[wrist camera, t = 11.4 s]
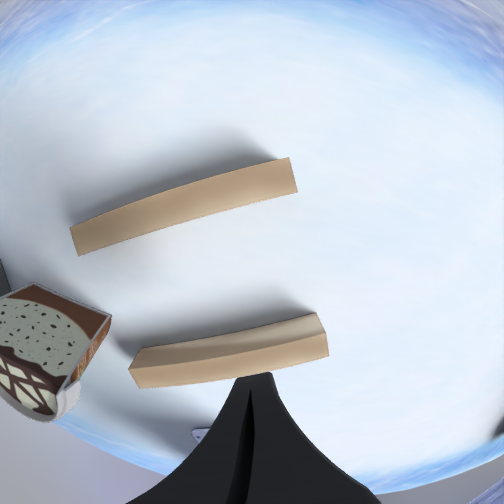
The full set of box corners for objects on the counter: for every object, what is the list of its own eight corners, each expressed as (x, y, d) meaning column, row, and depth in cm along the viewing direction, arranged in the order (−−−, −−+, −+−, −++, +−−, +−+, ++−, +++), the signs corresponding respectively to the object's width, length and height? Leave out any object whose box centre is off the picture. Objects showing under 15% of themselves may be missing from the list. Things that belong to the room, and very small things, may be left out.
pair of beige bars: (320, 334, 20) (329, 356, 17) (150, 367, 21) (139, 388, 18) (282, 161, 17) (288, 157, 14) (91, 221, 18) (69, 227, 15)
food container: (29, 329, 20) (-27, 377, 11) (24, 277, 19) (-47, 317, 9) (125, 374, 21) (81, 453, 11) (127, 320, 20) (64, 400, 10)
